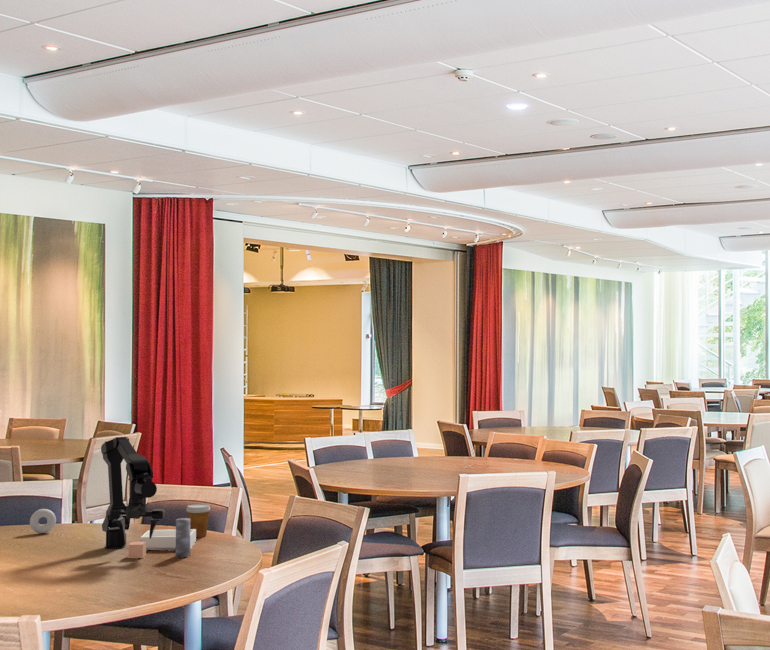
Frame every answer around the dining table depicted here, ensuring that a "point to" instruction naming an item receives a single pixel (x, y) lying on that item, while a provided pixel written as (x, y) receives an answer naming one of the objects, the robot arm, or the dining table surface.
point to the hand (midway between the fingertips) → (137, 538)
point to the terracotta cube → (136, 549)
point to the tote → (165, 539)
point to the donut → (48, 526)
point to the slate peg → (183, 537)
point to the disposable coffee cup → (198, 518)
